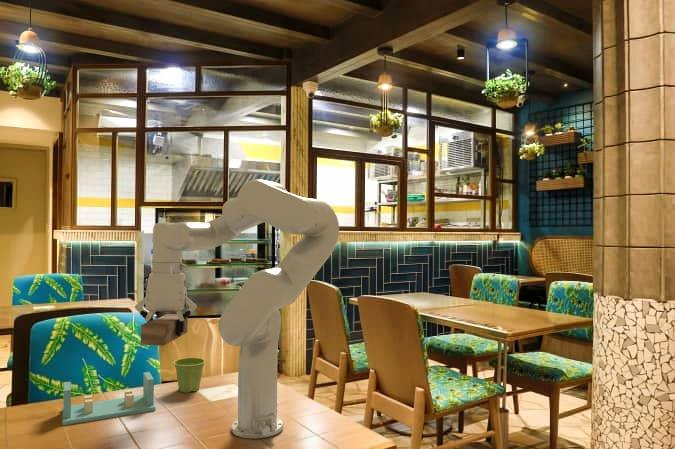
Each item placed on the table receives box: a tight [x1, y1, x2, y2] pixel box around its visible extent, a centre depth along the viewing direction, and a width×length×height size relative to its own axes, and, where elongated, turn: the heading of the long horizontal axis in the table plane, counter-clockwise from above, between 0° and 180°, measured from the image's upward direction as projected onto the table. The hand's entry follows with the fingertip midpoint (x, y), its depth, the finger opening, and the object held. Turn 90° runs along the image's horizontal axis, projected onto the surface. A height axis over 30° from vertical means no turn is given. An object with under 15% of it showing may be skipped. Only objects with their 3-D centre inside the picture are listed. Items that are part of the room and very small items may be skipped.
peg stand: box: [61, 371, 156, 426], centre depth 134 cm, size 22×12×8 cm, turn 119°
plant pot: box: [173, 357, 206, 393], centre depth 152 cm, size 9×9×9 cm
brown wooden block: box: [140, 313, 189, 347], centre depth 133 cm, size 16×6×5 cm, turn 176°
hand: (165, 334), depth 133 cm, fingers closed on brown wooden block, 6 cm apart
